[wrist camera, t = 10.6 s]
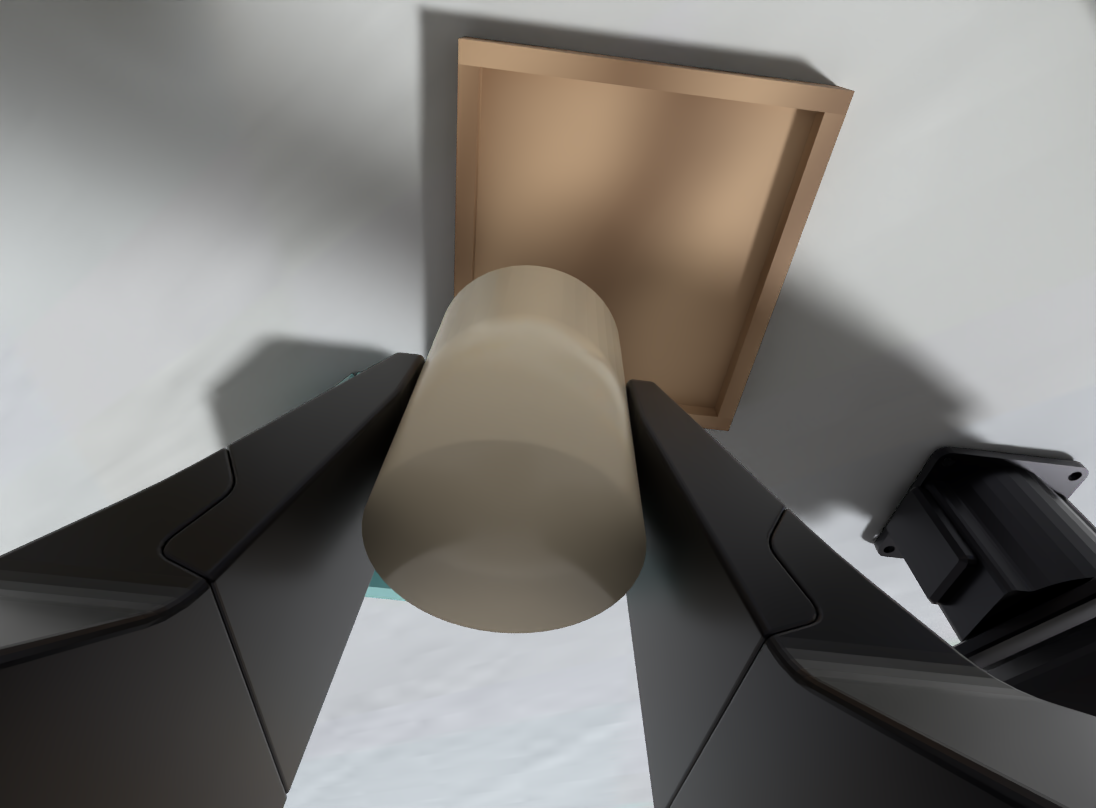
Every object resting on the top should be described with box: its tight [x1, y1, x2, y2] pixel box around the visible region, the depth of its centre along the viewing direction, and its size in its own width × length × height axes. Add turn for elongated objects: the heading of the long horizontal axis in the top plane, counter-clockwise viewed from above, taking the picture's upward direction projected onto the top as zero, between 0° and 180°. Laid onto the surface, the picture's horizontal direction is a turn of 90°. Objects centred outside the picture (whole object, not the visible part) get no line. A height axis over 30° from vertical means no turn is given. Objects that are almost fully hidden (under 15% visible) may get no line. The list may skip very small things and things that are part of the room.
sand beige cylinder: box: [362, 265, 646, 633], centre depth 8 cm, size 3×3×4 cm
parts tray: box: [454, 36, 854, 431], centre depth 20 cm, size 11×12×1 cm
